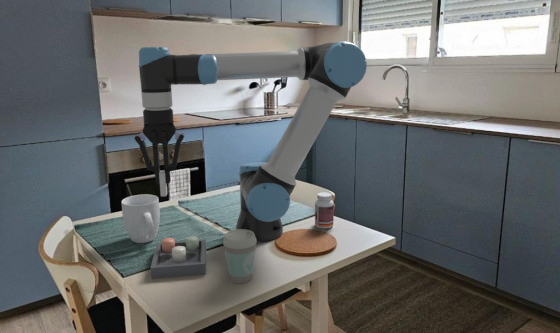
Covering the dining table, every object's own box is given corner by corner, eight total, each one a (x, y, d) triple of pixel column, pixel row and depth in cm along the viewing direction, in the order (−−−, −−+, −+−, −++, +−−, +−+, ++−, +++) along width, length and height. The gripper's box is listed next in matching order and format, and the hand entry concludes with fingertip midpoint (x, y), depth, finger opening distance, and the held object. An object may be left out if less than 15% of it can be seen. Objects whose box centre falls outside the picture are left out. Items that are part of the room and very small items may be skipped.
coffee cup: (244, 289, 110) (243, 244, 107) (217, 280, 114) (215, 237, 111) (264, 275, 117) (263, 232, 114) (237, 267, 121) (236, 225, 118)
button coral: (175, 247, 128) (175, 237, 127) (174, 253, 124) (174, 242, 124) (162, 248, 127) (162, 238, 127) (161, 254, 124) (160, 243, 123)
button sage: (199, 246, 129) (198, 235, 128) (198, 251, 125) (198, 240, 125) (186, 246, 128) (185, 236, 127) (185, 252, 125) (185, 241, 124)
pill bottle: (337, 225, 149) (337, 194, 147) (325, 230, 145) (325, 198, 143) (323, 220, 154) (323, 190, 151) (311, 225, 150) (311, 194, 147)
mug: (171, 245, 135) (168, 204, 132) (134, 254, 129) (130, 211, 126) (155, 229, 147) (152, 192, 144) (121, 237, 141) (117, 198, 138)
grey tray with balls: (206, 248, 133) (205, 239, 132) (206, 274, 117) (205, 263, 117) (157, 252, 131) (157, 242, 130) (151, 278, 115) (150, 268, 115)
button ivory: (186, 256, 122) (185, 245, 122) (185, 262, 119) (185, 251, 118) (173, 257, 122) (172, 246, 121) (172, 263, 118) (171, 252, 118)
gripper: (184, 106, 120) (189, 189, 126) (134, 107, 118) (141, 191, 124) (182, 109, 113) (187, 197, 119) (129, 110, 111) (137, 200, 117)
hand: (164, 194), depth 122 cm, fingers closed
